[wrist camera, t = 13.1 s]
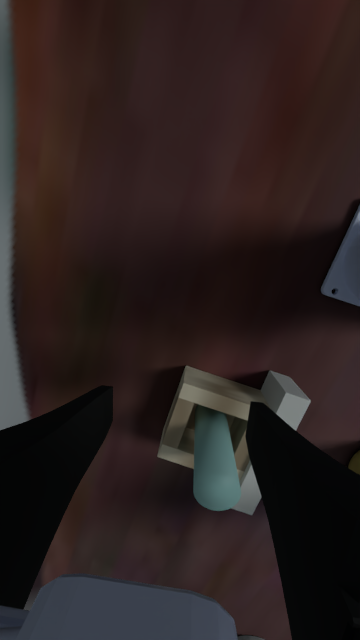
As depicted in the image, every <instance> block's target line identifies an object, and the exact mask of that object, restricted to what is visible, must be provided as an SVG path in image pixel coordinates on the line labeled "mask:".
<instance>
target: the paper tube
mask: <svg viewBox="0 0 360 640" xmlns="http://www.w3.org/2000/svg"><path fill="white" fill-rule="evenodd" d="M348 468H349V469H351V470H352V471H354V472H356V473H357V474H359V475H360V450H359V451H358V452H356V453H355V454H354V456H353V457H352V458H351V460H350V462H349V465H348Z"/></svg>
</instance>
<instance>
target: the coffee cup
mask: <svg viewBox="0 0 360 640" xmlns="http://www.w3.org/2000/svg"><path fill="white" fill-rule="evenodd" d="M238 640H265V639H262V638H260V637H256V636H250V635H246V636H238Z"/></svg>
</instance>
